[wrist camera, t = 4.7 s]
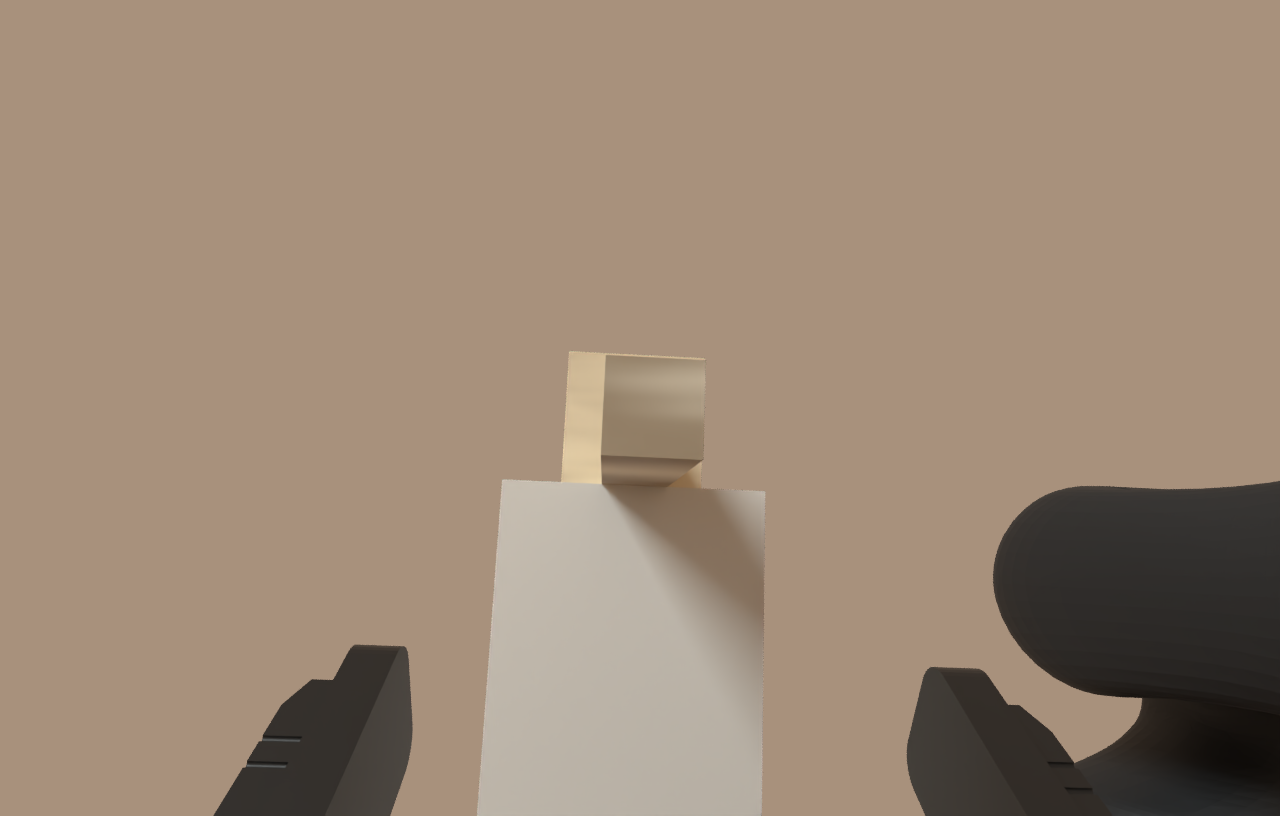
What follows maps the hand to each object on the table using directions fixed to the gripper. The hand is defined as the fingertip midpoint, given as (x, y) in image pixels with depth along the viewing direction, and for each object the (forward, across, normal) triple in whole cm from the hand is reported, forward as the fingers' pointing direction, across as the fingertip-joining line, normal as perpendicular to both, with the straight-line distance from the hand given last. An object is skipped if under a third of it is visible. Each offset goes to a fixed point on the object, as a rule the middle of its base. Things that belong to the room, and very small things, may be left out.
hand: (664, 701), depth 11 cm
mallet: (+16, 0, +4) cm, 16 cm away
